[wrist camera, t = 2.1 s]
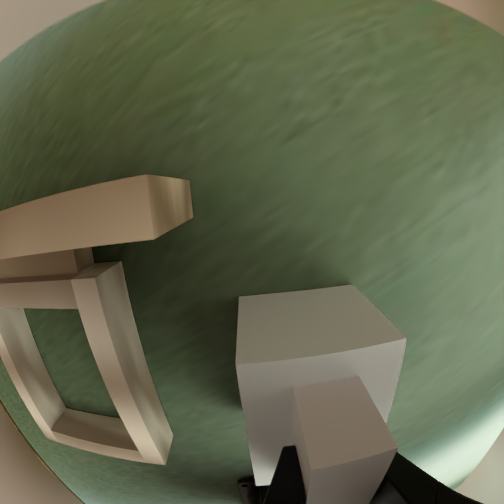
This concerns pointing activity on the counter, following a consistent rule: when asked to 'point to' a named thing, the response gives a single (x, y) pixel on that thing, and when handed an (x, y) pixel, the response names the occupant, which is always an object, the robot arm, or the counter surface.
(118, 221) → the stand
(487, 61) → the counter surface
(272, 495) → the robot arm
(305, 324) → the grey stepped block
